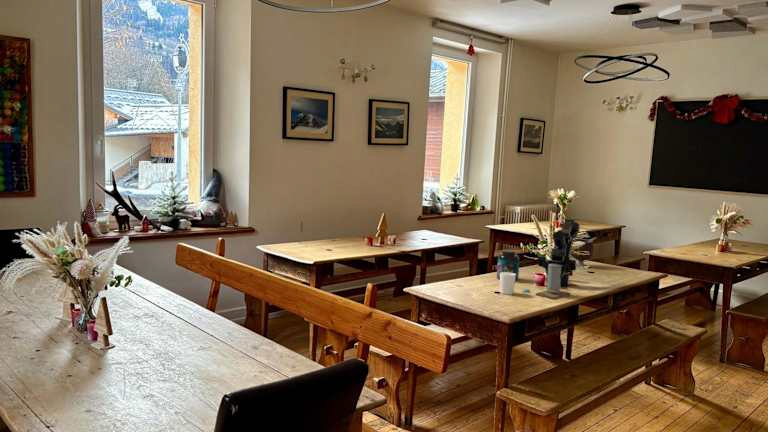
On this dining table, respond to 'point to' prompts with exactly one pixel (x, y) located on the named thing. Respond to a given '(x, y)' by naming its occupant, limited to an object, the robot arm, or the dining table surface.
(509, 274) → the white cup
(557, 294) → the walnut board
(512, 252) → the container
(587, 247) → the mate gourd
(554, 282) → the canister
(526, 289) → the teal token
